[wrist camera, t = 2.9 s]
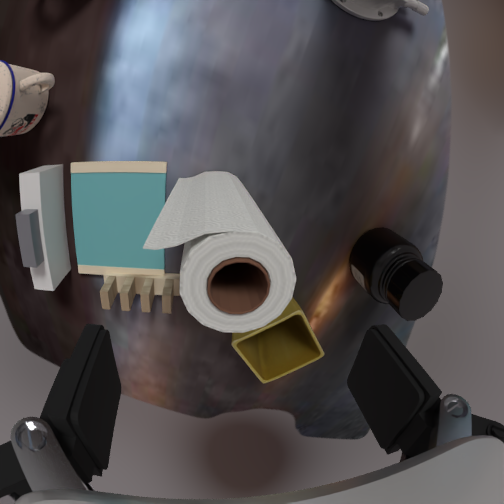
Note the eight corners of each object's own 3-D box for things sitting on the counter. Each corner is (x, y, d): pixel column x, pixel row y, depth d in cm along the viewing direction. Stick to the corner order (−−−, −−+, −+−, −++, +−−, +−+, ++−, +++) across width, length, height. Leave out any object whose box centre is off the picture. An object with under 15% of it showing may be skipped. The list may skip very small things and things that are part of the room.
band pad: (167, 161, 32) (166, 162, 31) (164, 275, 37) (164, 278, 36) (73, 162, 30) (70, 163, 29) (80, 270, 35) (78, 273, 34)
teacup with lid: (3, 145, 26) (-53, 158, 16) (-1, 83, 23) (-56, 80, 12) (73, 117, 27) (21, 116, 17) (69, 50, 24) (21, 27, 13)
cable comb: (180, 273, 37) (177, 296, 32) (180, 289, 38) (177, 313, 33) (106, 269, 36) (94, 291, 31) (108, 285, 36) (96, 308, 31)
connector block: (63, 164, 29) (30, 175, 22) (71, 268, 35) (47, 299, 27) (44, 165, 29) (9, 177, 22) (53, 267, 34) (27, 297, 27)
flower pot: (252, 342, 44) (263, 385, 35) (224, 301, 40) (229, 344, 32) (305, 316, 43) (325, 356, 35) (282, 271, 39) (302, 308, 31)
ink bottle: (336, 276, 41) (376, 325, 30) (359, 218, 38) (410, 254, 27) (386, 286, 43) (429, 329, 33) (408, 235, 40) (460, 269, 29)
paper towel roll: (253, 205, 35) (313, 304, 16) (209, 229, 36) (216, 351, 16) (226, 152, 32) (257, 186, 13) (179, 177, 33) (141, 249, 13)
